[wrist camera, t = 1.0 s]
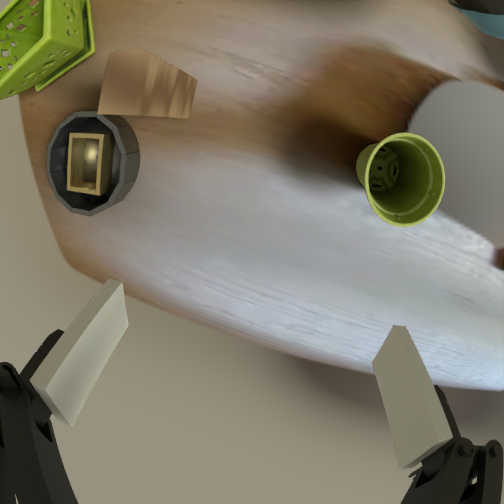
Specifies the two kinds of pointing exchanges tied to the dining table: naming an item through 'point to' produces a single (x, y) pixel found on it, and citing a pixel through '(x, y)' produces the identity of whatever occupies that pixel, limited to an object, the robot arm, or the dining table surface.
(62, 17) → the flower pot
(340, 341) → the dining table surface
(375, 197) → the plant pot
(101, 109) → the wooden slab
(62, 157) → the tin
